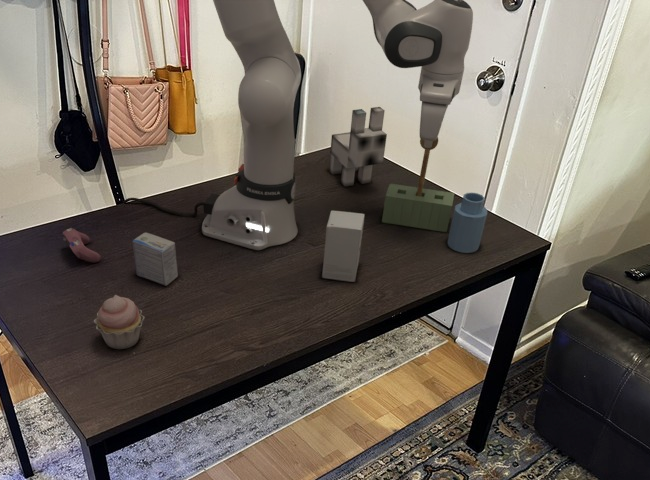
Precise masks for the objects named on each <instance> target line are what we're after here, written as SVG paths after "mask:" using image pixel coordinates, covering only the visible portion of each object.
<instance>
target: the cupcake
mask: <svg viewBox="0 0 650 480" xmlns="http://www.w3.org/2000/svg"><path fill="white" fill-rule="evenodd" d="M142 313H143V310H142V309H139V308H138V305H136V304H135V302H134V301H133V300H131V299H130V298H128V297H124V296H120V295H118V294H114V296H113V297H109V298H108V299H105V301H103V304H102V305H101V306H100V308H99V310H98V312H97V313H96V318H94V320H93V323H94V325H95V328H96V330H97V331H98V332H99V333H100V334H101V336H102V339H103V341H104V343H105V344H106V345H107V346H108V347H110V348H111V349H115V350H126V349H130V348H131V347H134V346H135V345H136V344H137V343H138V341H139V340H140V333H141V329H142V327H143V323H144V321H145V315H142Z"/></svg>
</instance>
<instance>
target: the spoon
mask: <svg viewBox="0 0 650 480" xmlns="http://www.w3.org/2000/svg"><path fill="white" fill-rule="evenodd" d="M424 141H425V140H422V139H420V138H419V145H420V147H421V148H422V149H424V152H423V158H422V162H421V168H420V174H419V179H418V184H417V188H418V190H417V195H416V196H422V191H423V188H424V186H425V185H424V184H425V180H426V174H427V169H428V165H429V164H428V163H429V159H430V155H431V151H432V150H434V149H436V148H437V146H438V144H439V137H437V139H436V141H433V143H432V147H431V148H426V147H424Z"/></svg>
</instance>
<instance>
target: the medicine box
mask: <svg viewBox="0 0 650 480" xmlns="http://www.w3.org/2000/svg"><path fill="white" fill-rule="evenodd" d="M132 249H133V256H134V264H135V265H134V266H135V272H136V275H137V276H138V277H141V278H144V279H146V280H149V281H152V282H154V283H157V284H159V285H161V286H165V287H166V286H168V285H169V284H171V283H172V282H173V281H174V280H175V279H177V278H179V273H178V262H177V251H176V243H175V242H174V241H172V240H169V239H167V238H163V237H161V236H158V235H155V234H153V233H149V232H147V231H145V232H143V233H142V234H140V235H139V236H137V237H136V238H135V239H133V240H132Z"/></svg>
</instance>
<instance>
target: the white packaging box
mask: <svg viewBox="0 0 650 480" xmlns="http://www.w3.org/2000/svg"><path fill="white" fill-rule="evenodd" d="M329 213H330V214H329V217H328V221H327V224H326V229H325V241H324V250H323V251H324V252H323V265H322V274H321V278H322V279H327V280H335V281H343V282H350V283H355V282H356V278H357V273H358V268H359V267H358V266H359V263H360V255H361V248H362V239H363V231H364V224H365V217H366V216H365V215H366V214H365V213H360V212H359V213H358V212H351V211H341V210H333V209H332V210H330V212H329Z"/></svg>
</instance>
